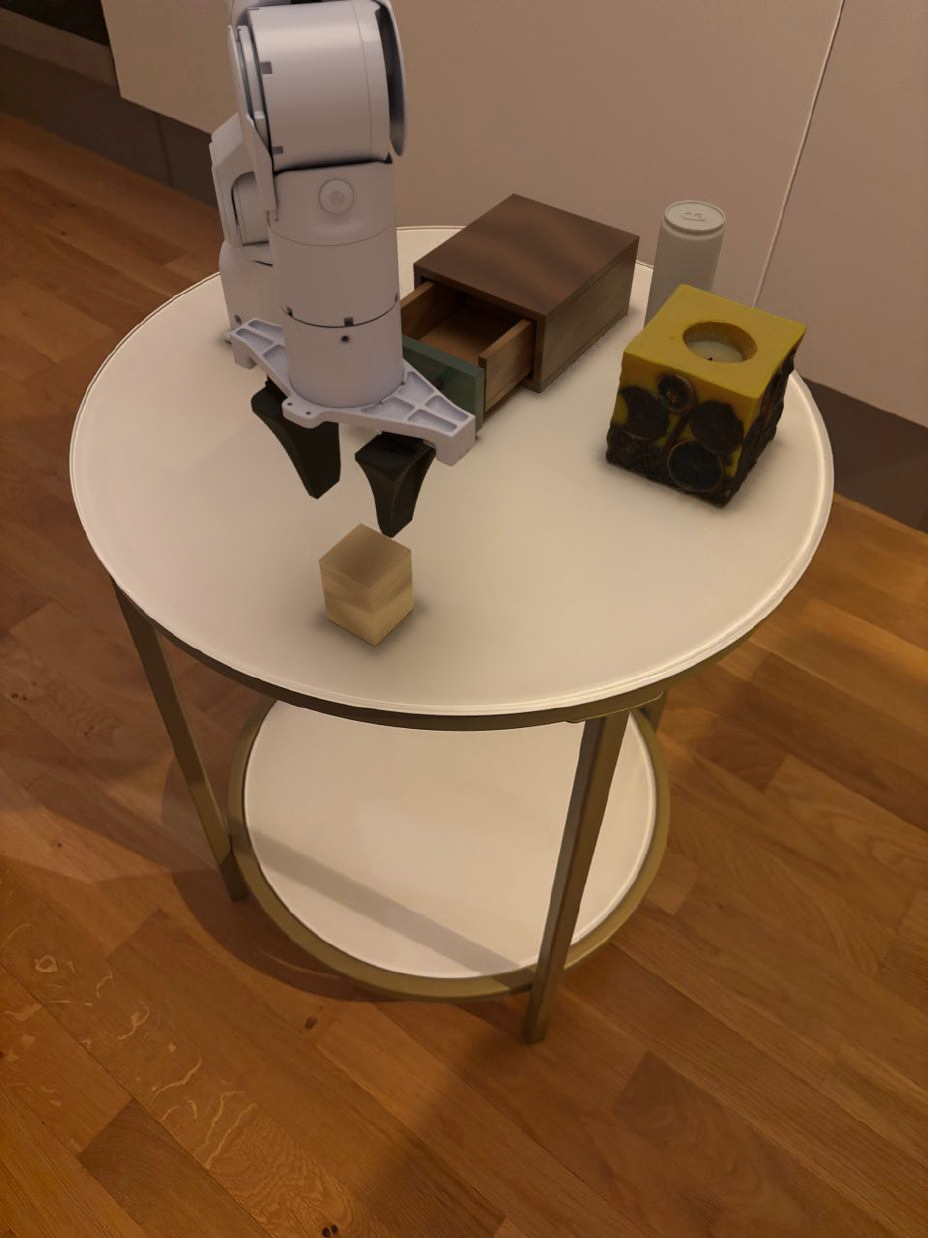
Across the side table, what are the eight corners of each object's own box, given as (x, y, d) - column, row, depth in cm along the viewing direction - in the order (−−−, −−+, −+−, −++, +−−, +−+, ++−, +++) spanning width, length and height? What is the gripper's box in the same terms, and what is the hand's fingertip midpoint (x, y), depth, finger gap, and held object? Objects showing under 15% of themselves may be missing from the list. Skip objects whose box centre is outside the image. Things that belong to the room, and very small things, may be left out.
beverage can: (695, 371, 81) (726, 233, 71) (637, 364, 81) (660, 226, 72) (698, 338, 84) (728, 202, 75) (642, 332, 84) (665, 196, 75)
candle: (657, 392, 79) (679, 279, 71) (776, 435, 75) (813, 321, 68) (599, 461, 73) (616, 347, 66) (725, 512, 70) (758, 397, 62)
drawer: (441, 465, 71) (440, 406, 67) (322, 408, 76) (315, 349, 72) (567, 351, 81) (573, 293, 77) (455, 306, 85) (456, 249, 81)
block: (327, 618, 63) (318, 559, 59) (366, 581, 65) (360, 522, 61) (375, 647, 61) (369, 588, 57) (414, 608, 64) (411, 549, 59)
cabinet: (539, 393, 79) (546, 315, 73) (415, 340, 83) (412, 263, 78) (628, 311, 86) (640, 235, 81) (510, 267, 91) (513, 192, 86)
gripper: (167, 281, 46) (219, 494, 57) (409, 391, 41) (418, 604, 51) (269, 222, 50) (300, 432, 60) (503, 315, 45) (494, 528, 55)
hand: (360, 506), depth 56 cm, fingers open, 5 cm apart
